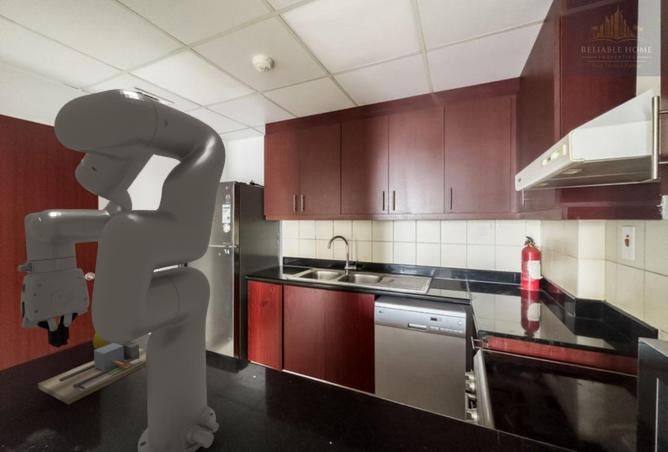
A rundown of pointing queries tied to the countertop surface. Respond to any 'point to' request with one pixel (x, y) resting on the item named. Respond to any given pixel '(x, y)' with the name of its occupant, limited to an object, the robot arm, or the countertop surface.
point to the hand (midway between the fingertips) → (59, 345)
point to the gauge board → (93, 376)
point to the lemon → (99, 342)
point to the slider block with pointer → (109, 356)
